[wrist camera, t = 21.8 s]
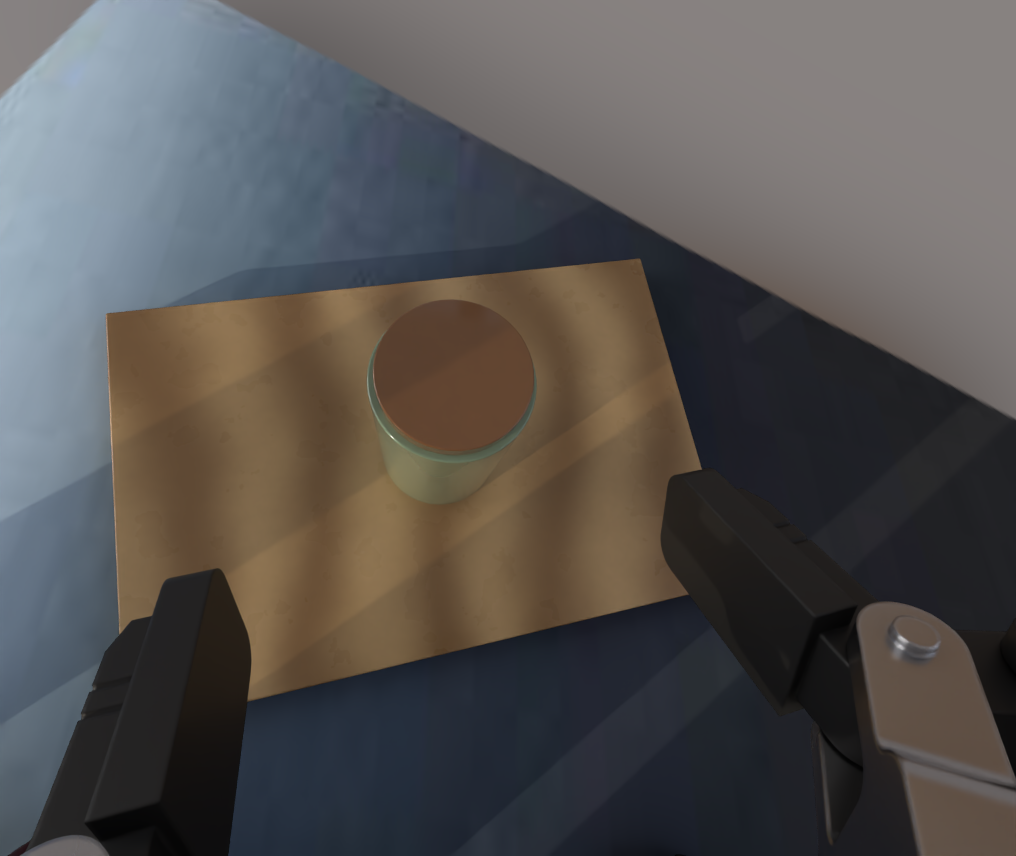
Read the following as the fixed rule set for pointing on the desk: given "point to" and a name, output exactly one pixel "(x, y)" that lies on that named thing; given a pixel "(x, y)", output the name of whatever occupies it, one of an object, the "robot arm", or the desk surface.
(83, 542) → the desk surface
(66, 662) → the desk surface
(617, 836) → the desk surface
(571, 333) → the oak board
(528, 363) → the salt pot
